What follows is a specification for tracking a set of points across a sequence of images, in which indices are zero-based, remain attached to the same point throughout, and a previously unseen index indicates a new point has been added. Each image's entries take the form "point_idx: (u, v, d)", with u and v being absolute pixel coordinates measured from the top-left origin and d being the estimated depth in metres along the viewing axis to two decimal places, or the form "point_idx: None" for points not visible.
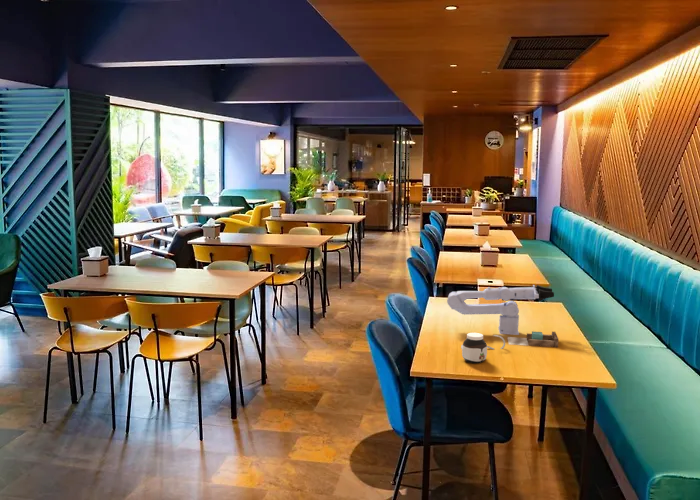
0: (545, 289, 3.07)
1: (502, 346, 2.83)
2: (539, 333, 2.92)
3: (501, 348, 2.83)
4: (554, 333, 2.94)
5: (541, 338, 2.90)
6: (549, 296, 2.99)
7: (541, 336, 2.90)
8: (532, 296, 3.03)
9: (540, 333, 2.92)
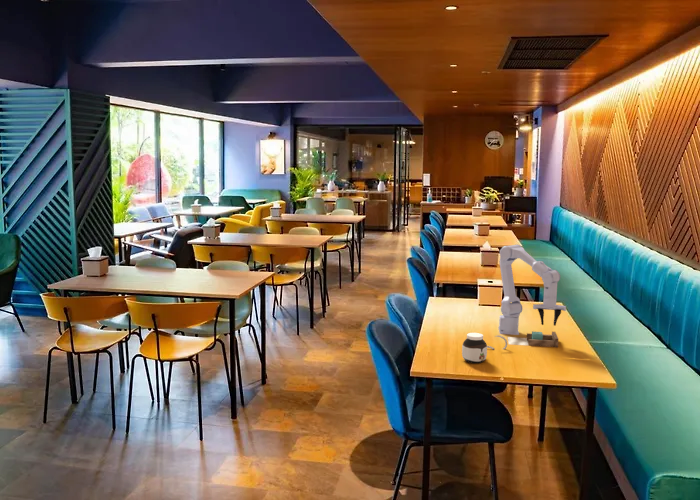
0: (554, 319, 2.89)
1: (504, 347, 2.82)
2: (539, 333, 2.92)
3: None
4: (554, 333, 2.94)
5: (541, 338, 2.90)
6: None
7: (541, 336, 2.90)
8: None
9: (540, 333, 2.92)
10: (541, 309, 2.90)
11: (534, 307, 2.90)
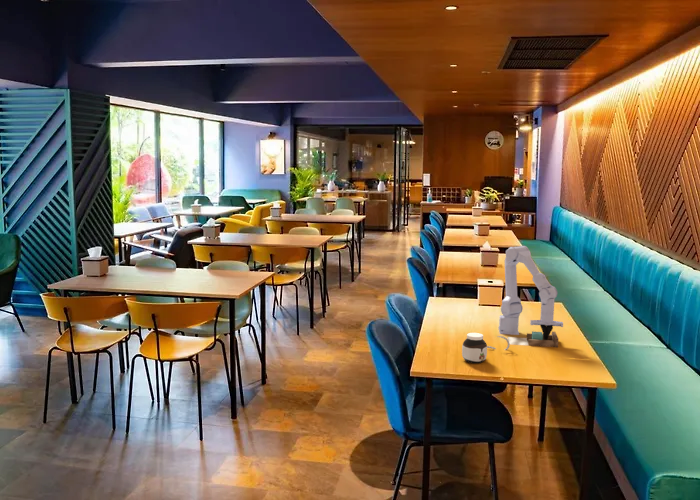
0: (546, 334, 2.91)
1: None
2: (539, 333, 2.92)
3: (505, 349, 2.81)
4: (554, 333, 2.94)
5: (541, 338, 2.90)
6: (543, 335, 2.93)
7: (541, 336, 2.90)
8: None
9: (540, 333, 2.92)
10: (544, 325, 2.91)
11: (531, 323, 2.91)
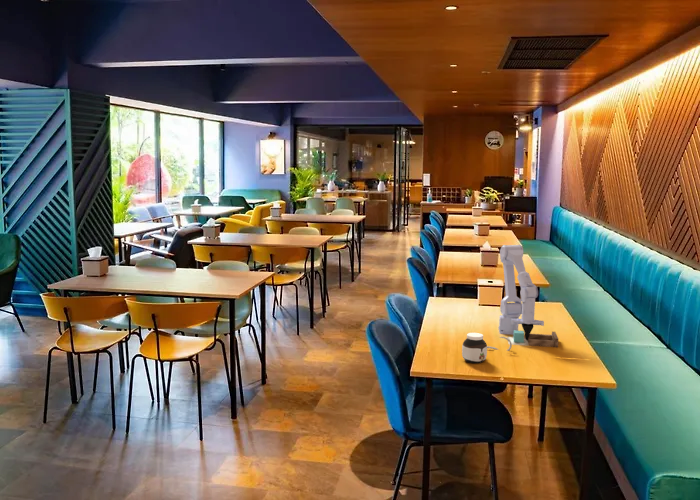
0: (527, 333, 2.93)
1: None
2: (520, 332, 2.93)
3: (507, 350, 2.80)
4: (554, 333, 2.94)
5: (522, 337, 2.92)
6: None
7: (522, 335, 2.92)
8: None
9: (522, 331, 2.94)
10: (525, 324, 2.92)
11: (512, 322, 2.93)
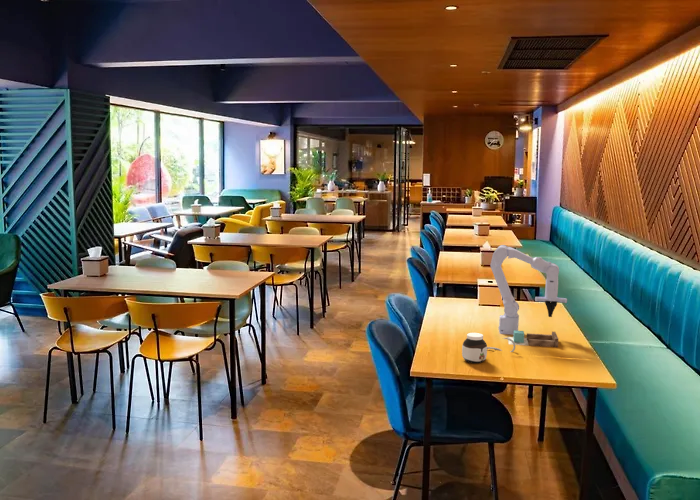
0: (550, 310, 3.01)
1: None
2: (520, 332, 2.93)
3: (511, 351, 2.79)
4: (554, 333, 2.94)
5: (522, 337, 2.92)
6: None
7: (522, 335, 2.92)
8: None
9: (522, 332, 2.94)
10: (548, 302, 3.00)
11: (536, 299, 3.01)
